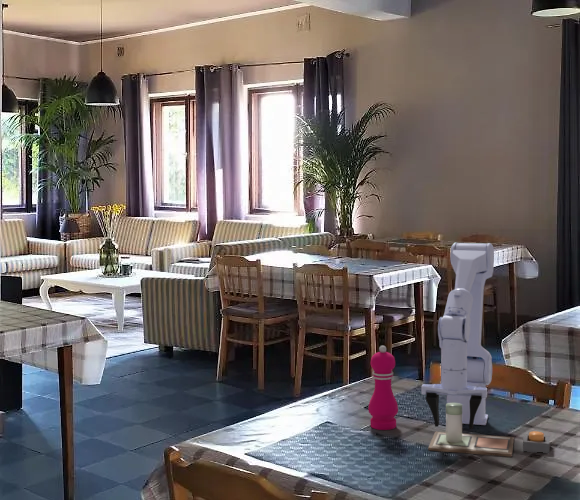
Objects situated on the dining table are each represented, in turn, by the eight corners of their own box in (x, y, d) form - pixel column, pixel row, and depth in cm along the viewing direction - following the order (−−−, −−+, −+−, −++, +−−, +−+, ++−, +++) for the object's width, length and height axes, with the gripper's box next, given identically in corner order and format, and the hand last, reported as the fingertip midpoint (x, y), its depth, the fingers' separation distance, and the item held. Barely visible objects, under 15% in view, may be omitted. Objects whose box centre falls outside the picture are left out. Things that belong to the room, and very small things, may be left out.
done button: (528, 443, 190) (528, 435, 189) (529, 438, 193) (529, 430, 192) (543, 444, 189) (543, 436, 188) (543, 439, 192) (543, 431, 191)
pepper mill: (397, 431, 205) (396, 349, 203) (366, 430, 206) (366, 348, 204) (399, 422, 212) (398, 343, 210) (370, 421, 213) (369, 342, 211)
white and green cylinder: (444, 441, 194) (444, 406, 193) (447, 436, 197) (447, 402, 197) (460, 443, 193) (460, 407, 192) (463, 438, 196) (463, 403, 195)
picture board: (428, 450, 191) (428, 446, 191) (435, 433, 202) (435, 430, 202) (511, 456, 186) (511, 453, 185) (514, 439, 197) (514, 436, 197)
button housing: (522, 451, 189) (522, 441, 189) (523, 443, 194) (523, 434, 194) (549, 453, 187) (549, 443, 187) (549, 445, 193) (549, 435, 192)
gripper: (419, 370, 192) (419, 429, 193) (485, 373, 187) (485, 434, 189) (423, 363, 198) (423, 420, 200) (487, 366, 194) (487, 424, 195)
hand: (454, 426), depth 195 cm, fingers open, 7 cm apart
